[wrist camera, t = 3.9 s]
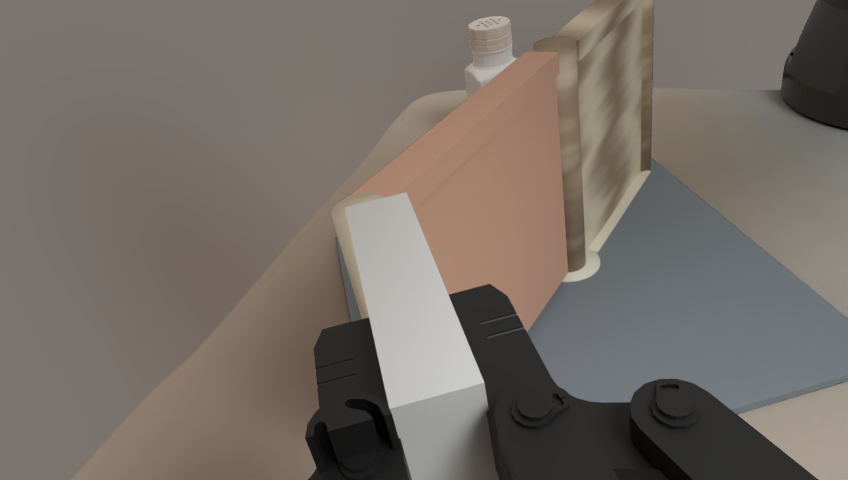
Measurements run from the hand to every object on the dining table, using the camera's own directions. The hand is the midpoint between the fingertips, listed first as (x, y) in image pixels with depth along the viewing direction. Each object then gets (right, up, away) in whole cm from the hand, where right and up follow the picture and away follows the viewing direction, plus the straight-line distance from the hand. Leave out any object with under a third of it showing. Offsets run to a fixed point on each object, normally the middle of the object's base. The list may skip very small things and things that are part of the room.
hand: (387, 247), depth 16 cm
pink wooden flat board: (+5, -6, +16) cm, 18 cm away
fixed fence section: (+13, +2, +26) cm, 29 cm away
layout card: (+8, -3, +21) cm, 23 cm away
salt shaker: (+7, +9, +38) cm, 40 cm away
